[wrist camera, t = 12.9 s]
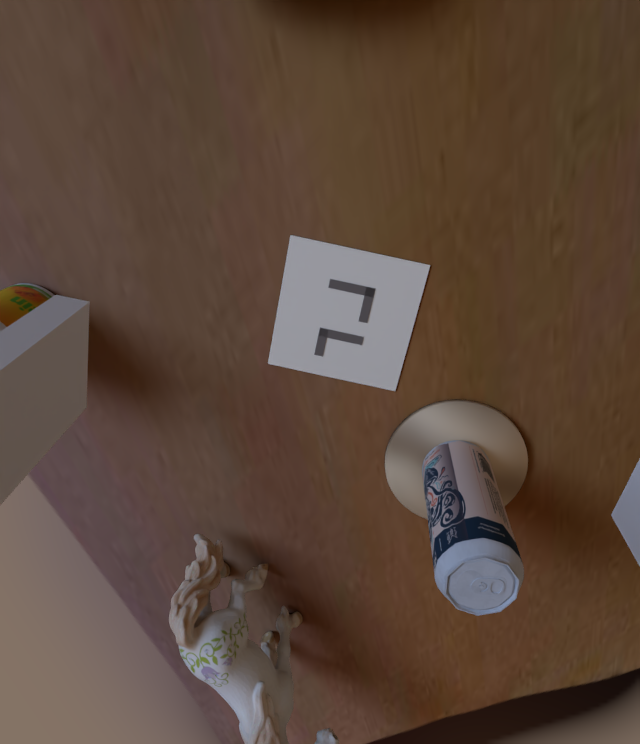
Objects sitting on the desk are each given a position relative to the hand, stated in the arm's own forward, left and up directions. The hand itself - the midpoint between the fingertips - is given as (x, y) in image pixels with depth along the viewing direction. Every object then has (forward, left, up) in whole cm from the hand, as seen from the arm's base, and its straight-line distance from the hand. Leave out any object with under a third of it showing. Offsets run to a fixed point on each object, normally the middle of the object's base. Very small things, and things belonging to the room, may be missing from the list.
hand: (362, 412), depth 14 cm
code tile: (+6, 0, -26) cm, 27 cm away
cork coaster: (+15, +10, -26) cm, 32 cm away
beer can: (+15, +10, -25) cm, 31 cm away
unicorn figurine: (+30, +1, -26) cm, 40 cm away
